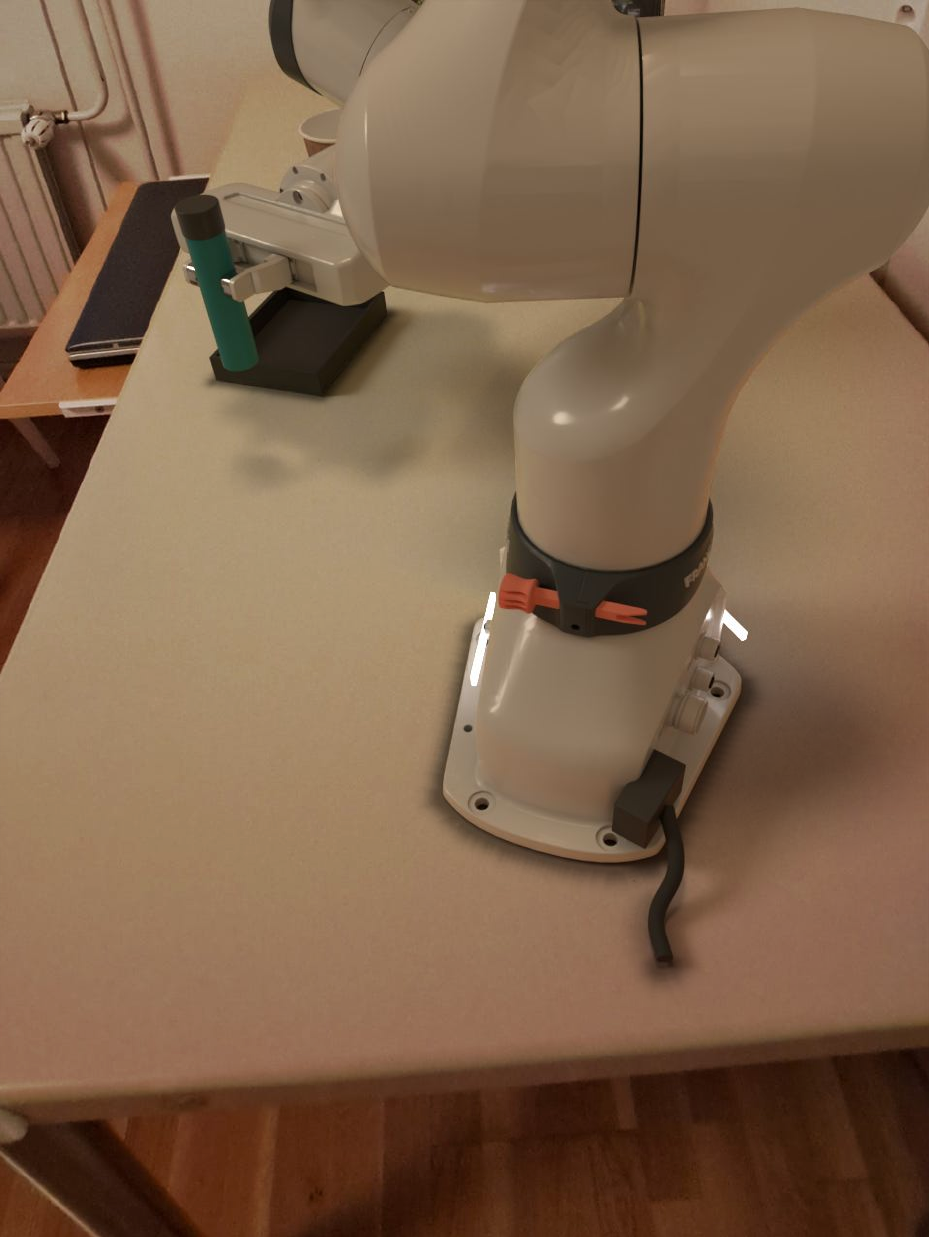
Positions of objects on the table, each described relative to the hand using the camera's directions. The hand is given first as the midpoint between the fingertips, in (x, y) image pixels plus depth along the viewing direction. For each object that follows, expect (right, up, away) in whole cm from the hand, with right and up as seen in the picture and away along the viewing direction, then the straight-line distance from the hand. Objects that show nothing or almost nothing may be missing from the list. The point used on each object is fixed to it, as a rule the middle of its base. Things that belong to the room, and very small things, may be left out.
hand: (209, 284), depth 71 cm
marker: (+1, -4, +6) cm, 7 cm away
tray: (+3, +3, +26) cm, 26 cm away
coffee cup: (+6, +23, +44) cm, 50 cm away
